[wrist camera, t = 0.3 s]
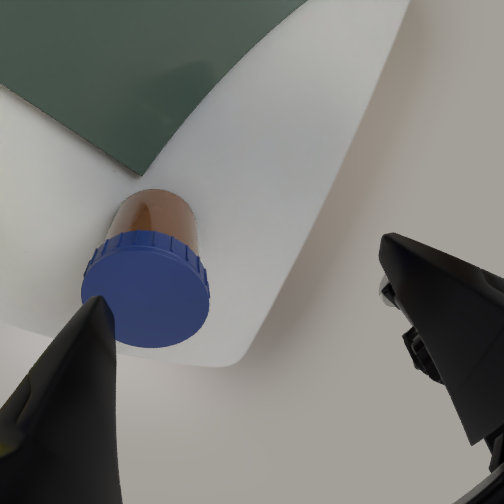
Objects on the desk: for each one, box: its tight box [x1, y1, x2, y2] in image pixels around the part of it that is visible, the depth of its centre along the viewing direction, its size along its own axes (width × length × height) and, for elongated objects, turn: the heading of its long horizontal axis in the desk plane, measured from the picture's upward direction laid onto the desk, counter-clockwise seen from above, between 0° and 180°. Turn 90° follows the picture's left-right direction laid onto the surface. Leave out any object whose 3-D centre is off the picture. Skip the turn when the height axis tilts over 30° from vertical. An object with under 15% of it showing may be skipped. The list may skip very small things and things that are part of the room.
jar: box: [104, 189, 199, 256], centre depth 17 cm, size 6×6×8 cm
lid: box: [81, 229, 210, 348], centre depth 15 cm, size 7×7×2 cm
